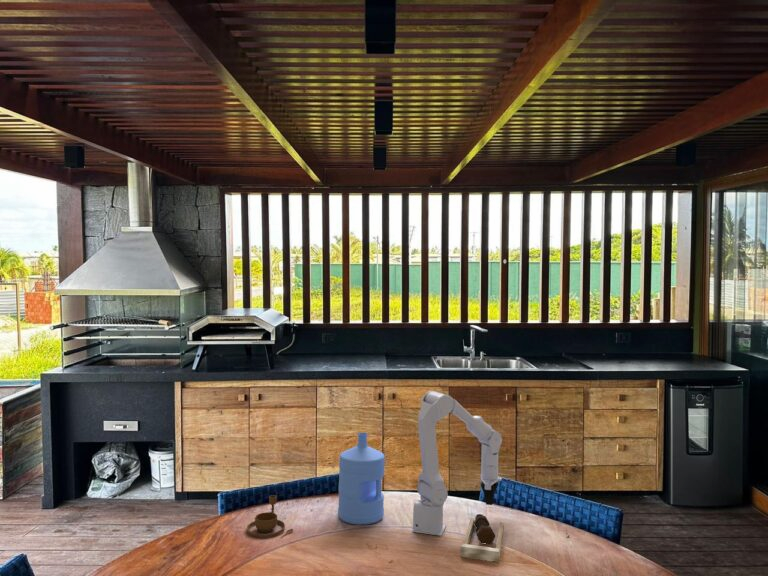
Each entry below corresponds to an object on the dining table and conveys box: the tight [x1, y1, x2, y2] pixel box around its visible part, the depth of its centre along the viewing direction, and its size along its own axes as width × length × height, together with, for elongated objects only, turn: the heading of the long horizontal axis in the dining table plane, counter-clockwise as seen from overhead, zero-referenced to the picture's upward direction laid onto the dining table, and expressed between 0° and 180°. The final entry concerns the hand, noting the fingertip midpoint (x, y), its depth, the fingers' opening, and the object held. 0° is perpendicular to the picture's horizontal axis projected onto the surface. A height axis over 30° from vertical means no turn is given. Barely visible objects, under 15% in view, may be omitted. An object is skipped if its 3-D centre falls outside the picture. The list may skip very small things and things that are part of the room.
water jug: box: [337, 432, 386, 526], centre depth 185 cm, size 16×16×28 cm
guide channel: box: [460, 517, 505, 563], centre depth 167 cm, size 11×24×3 cm, turn 164°
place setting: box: [246, 494, 294, 539], centre depth 176 cm, size 18×20×6 cm
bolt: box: [474, 513, 496, 545], centre depth 173 cm, size 6×5×15 cm
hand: (489, 504), depth 186 cm, fingers closed
